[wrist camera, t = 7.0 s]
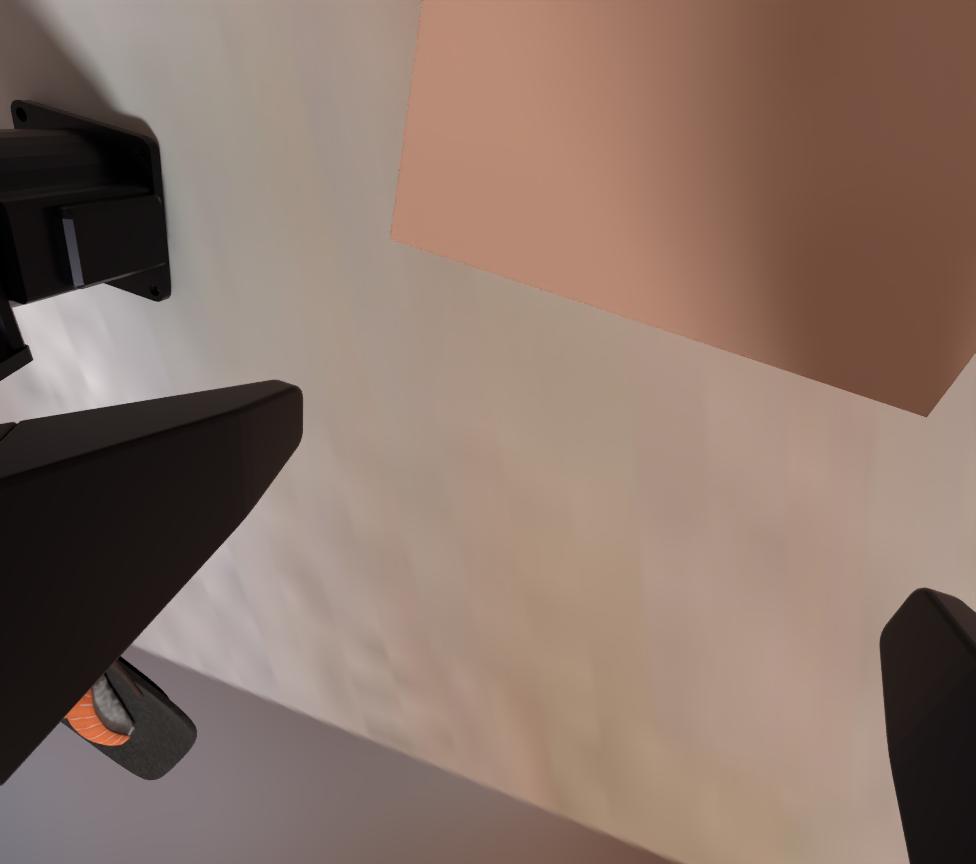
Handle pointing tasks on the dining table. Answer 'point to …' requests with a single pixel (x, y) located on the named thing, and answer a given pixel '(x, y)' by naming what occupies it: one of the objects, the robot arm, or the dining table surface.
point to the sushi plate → (133, 722)
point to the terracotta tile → (714, 172)
